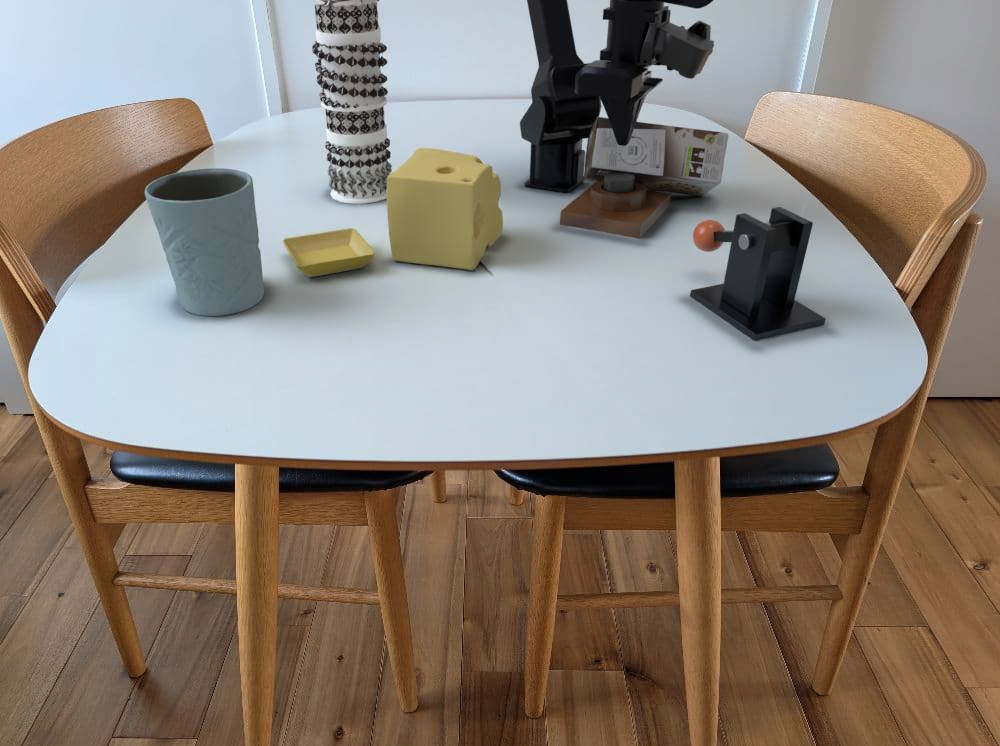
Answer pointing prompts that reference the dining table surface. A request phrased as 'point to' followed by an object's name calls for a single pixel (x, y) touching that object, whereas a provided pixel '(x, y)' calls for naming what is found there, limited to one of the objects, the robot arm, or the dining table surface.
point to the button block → (616, 210)
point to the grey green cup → (209, 238)
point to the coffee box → (658, 157)
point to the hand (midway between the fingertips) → (623, 144)
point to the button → (618, 182)
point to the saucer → (329, 252)
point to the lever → (714, 235)
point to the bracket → (762, 279)
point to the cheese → (443, 209)
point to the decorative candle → (353, 98)
